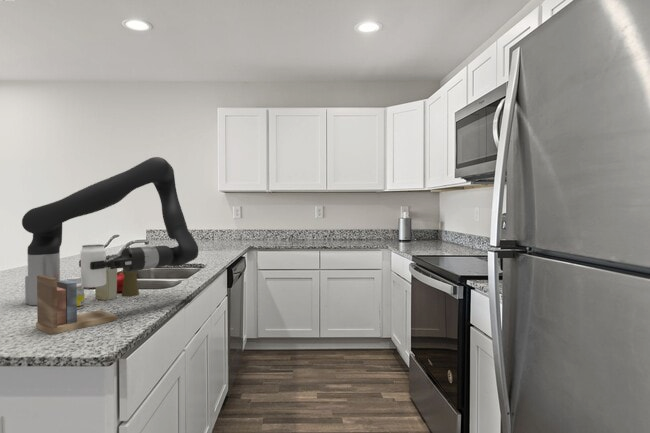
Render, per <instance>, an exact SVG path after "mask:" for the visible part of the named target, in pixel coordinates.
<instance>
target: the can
mask: <svg viewBox="0 0 650 433" xmlns="http://www.w3.org/2000/svg"><path fill="white" fill-rule="evenodd" d="M104 246H105V244H85V245H81V247H82V248H81V250H80V260H81V267H80V277H81V286H82V287H83V288H84V289H93V288H95V289H96V287H102V286H105V284H106V269H105V268H103V269H95V270H91V269H90V263H91V262H95V261H104V262H105V260H106V256H107V252H106V251H107V250H106V248H105V247H104Z"/></svg>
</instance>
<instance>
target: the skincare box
mask: <svg viewBox="0 0 650 433" xmlns="http://www.w3.org/2000/svg"><path fill="white" fill-rule="evenodd" d="M117 273H118V268H116V269H110V268H108V269H106V284H105V286H102V287H96V288H95V294H94V296H95V299H98V300H103V301H109V300H113V299H117V297H118V295H117Z"/></svg>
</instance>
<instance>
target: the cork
mask: <svg viewBox="0 0 650 433" xmlns="http://www.w3.org/2000/svg"><path fill="white" fill-rule="evenodd" d="M122 272H123V273H122V274H124V282H123V290H122V292H121V296H122V297H134V296H138V295H140V291H139V283H138V276H137V274H138V272H139V271H131V272H126V271H125V270H124V269H123V268H122Z"/></svg>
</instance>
